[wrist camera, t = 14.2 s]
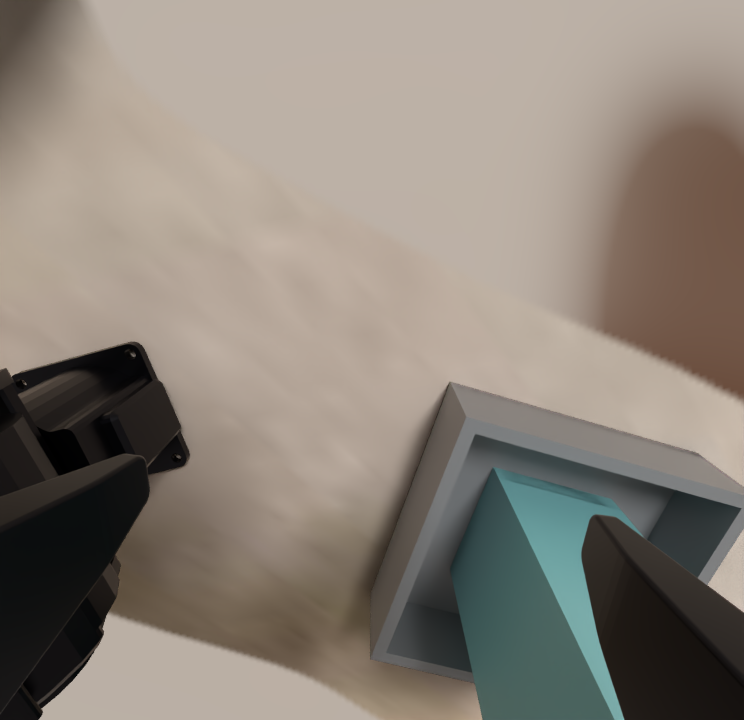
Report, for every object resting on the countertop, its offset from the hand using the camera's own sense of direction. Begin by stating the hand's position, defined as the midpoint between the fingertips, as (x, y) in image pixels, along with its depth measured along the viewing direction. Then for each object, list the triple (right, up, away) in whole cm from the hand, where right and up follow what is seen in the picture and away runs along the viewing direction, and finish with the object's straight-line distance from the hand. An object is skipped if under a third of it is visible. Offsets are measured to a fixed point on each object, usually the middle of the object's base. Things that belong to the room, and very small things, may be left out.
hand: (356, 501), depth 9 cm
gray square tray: (+8, -6, +15) cm, 18 cm away
